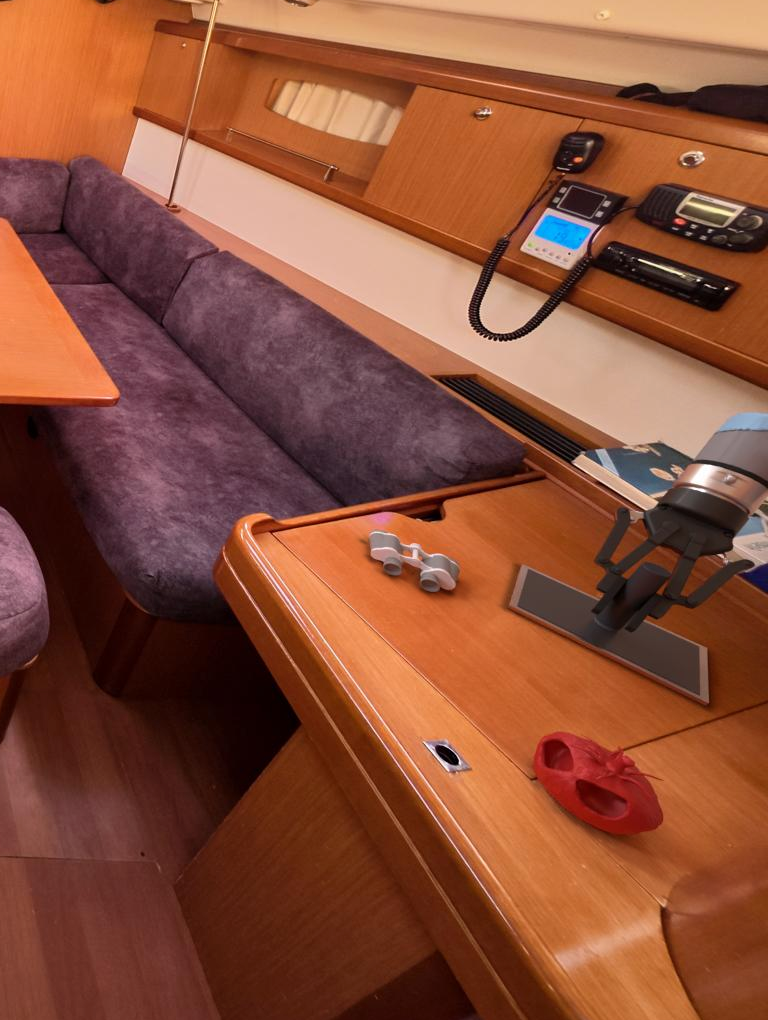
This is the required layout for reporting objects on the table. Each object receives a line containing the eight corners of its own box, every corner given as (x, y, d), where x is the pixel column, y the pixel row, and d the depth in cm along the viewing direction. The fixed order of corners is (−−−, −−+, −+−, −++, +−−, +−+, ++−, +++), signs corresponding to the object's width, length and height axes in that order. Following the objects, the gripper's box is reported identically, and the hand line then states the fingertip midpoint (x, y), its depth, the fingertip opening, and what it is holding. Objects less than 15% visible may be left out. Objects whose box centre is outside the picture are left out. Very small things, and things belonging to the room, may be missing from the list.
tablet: (704, 650, 95) (707, 647, 95) (705, 706, 87) (709, 702, 87) (520, 566, 109) (522, 563, 109) (507, 607, 101) (509, 604, 101)
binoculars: (454, 575, 107) (464, 560, 105) (455, 603, 102) (465, 588, 100) (366, 538, 114) (374, 524, 113) (362, 562, 109) (371, 548, 107)
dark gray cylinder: (620, 625, 98) (671, 570, 92) (619, 635, 96) (671, 580, 90) (593, 613, 100) (642, 558, 94) (592, 623, 98) (642, 568, 92)
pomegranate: (575, 755, 81) (619, 713, 77) (668, 848, 72) (723, 806, 68) (498, 752, 81) (538, 710, 77) (581, 844, 72) (631, 802, 68)
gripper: (636, 463, 98) (543, 577, 98) (811, 529, 86) (704, 660, 86) (625, 478, 103) (536, 587, 103) (788, 543, 90) (687, 666, 91)
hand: (612, 620), depth 94 cm, fingers closed on dark gray cylinder, 3 cm apart
